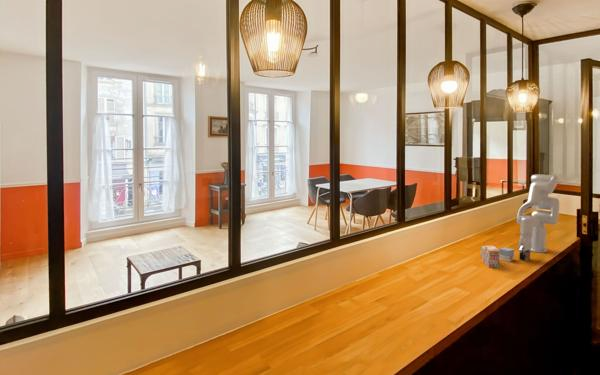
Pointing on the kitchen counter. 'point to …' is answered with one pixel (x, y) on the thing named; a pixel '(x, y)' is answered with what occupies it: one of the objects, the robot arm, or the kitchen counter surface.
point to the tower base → (506, 258)
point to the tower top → (506, 251)
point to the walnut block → (526, 256)
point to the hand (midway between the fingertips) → (524, 258)
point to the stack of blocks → (490, 256)
